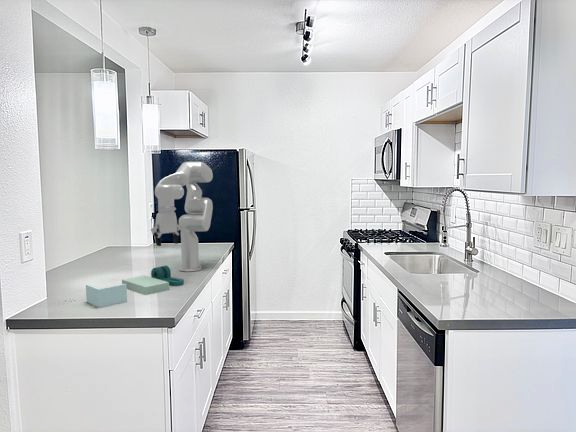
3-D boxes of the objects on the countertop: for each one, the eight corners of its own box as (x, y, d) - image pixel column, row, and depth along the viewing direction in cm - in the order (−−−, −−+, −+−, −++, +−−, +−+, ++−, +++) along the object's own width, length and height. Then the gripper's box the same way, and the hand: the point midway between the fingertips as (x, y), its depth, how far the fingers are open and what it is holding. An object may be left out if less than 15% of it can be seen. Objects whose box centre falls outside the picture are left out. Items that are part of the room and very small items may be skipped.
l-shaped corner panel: (127, 301, 184) (126, 284, 183) (99, 307, 175) (98, 289, 174) (113, 296, 192) (113, 279, 191) (86, 302, 183) (85, 284, 183)
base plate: (144, 283, 217) (144, 275, 217) (169, 290, 203) (169, 282, 202) (122, 287, 208) (121, 279, 208) (146, 296, 194) (145, 287, 193)
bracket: (151, 282, 217) (150, 267, 217) (162, 279, 223) (161, 264, 222) (176, 287, 208) (175, 271, 207) (186, 284, 213) (186, 268, 213)
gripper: (176, 208, 221) (177, 241, 222) (146, 210, 208) (147, 245, 209) (185, 209, 216) (186, 243, 217) (155, 211, 203) (156, 247, 204)
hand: (167, 244), depth 213 cm, fingers open, 9 cm apart
